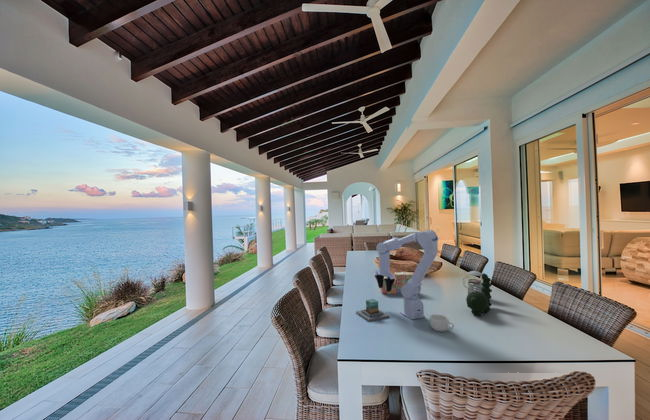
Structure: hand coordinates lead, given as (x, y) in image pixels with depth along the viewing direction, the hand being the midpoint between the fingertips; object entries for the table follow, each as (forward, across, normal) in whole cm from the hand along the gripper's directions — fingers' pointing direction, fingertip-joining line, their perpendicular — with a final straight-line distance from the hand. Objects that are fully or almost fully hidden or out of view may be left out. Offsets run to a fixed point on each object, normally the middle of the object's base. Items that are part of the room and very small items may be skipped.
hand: (384, 289), depth 151 cm
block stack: (+9, +6, -12) cm, 16 cm away
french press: (+10, +8, +57) cm, 58 cm away
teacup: (+10, +34, +6) cm, 36 cm away
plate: (+10, +6, -12) cm, 17 cm away
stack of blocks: (+10, -20, +23) cm, 32 cm away
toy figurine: (+10, +26, +40) cm, 49 cm away
